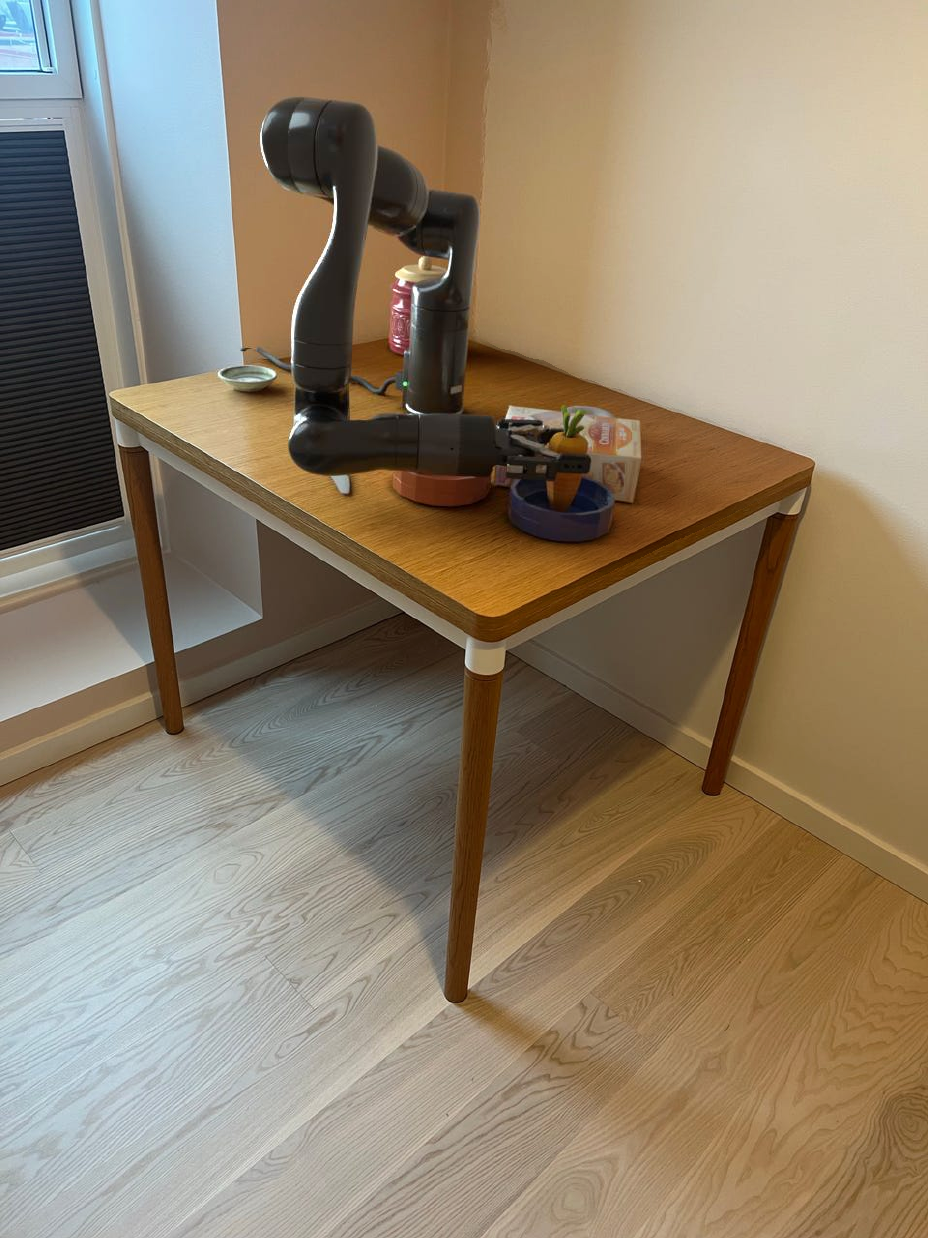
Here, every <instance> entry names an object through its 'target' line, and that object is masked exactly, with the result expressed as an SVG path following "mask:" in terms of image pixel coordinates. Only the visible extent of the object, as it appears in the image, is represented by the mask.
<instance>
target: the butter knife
mask: <svg viewBox="0 0 928 1238" xmlns="http://www.w3.org/2000/svg"><path fill="white" fill-rule="evenodd" d="M330 477H331V479H332V481H333V483H334V484H335V485H336V487H337V489H338V491H339V493H340V494H343V495H347V494H350V487H351V486H350V485H351V484H350V477H349V476H348V475H341V476H330Z"/></svg>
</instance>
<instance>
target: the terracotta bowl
mask: <svg viewBox="0 0 928 1238" xmlns="http://www.w3.org/2000/svg"><path fill="white" fill-rule="evenodd" d="M492 474H493V473H492ZM492 474H491V475H490V476H489V477H469V476H445V475H432V474H427V473H420V472H417V471H416V472H404V471H392V488H393V489H394V491H396V493H398V494H399V495H400V496H402V497H404V498H406V499H408V500H410V501H413V502H415V503H420V504H424V505H430V506H435V507H436V506H438V507H459V506H465V505H471V504H475V503H477V502H479V501H481V500H483V499H485V498H486V497H487V495H488V494H489V493H490V492H491V485H492Z"/></svg>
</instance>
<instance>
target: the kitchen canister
mask: <svg viewBox="0 0 928 1238" xmlns="http://www.w3.org/2000/svg"><path fill="white" fill-rule="evenodd" d="M446 271H447V268H444V267H441V266H437V265H433V260H432V257H428V256H420V258H419V259H418V264H417V263H416V264H408V265H404V266H403V267H402V268H401V269H398V270H397V271H396V272H394V275H395V277H396V280H395V281H394V282H393V283H391V284H390V286H389V288H390V290H391V292H392V300H391V301H390V303H389V307H390V318H389V320H390V321H389V334H388V343H389V349H390V350H391V351H392V352H393V353H395V354H398V355H401V356H404V352H405V350H407V349H409V343H410V317H411V293H412V287H413V285H414V284H415V283H416V282H418V281H421V280H424V279H429V278H433V277H437V276H439V275H442V274H443V273H445V272H446Z"/></svg>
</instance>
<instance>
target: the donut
mask: <svg viewBox="0 0 928 1238" xmlns="http://www.w3.org/2000/svg"><path fill="white" fill-rule="evenodd" d="M579 409H582V410H583V411H585V412H586V413H585V414H584V415H593V416H602V417H610V418H616V416H615V415H614V414H612V413H611V412H609V411H607V410H606V409H602V408H599V407H594V406H586V405H575V406H568V407H567V411H568V412H569V413H577V412H578V410H579ZM560 412H562V410H561V411H560Z"/></svg>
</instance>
